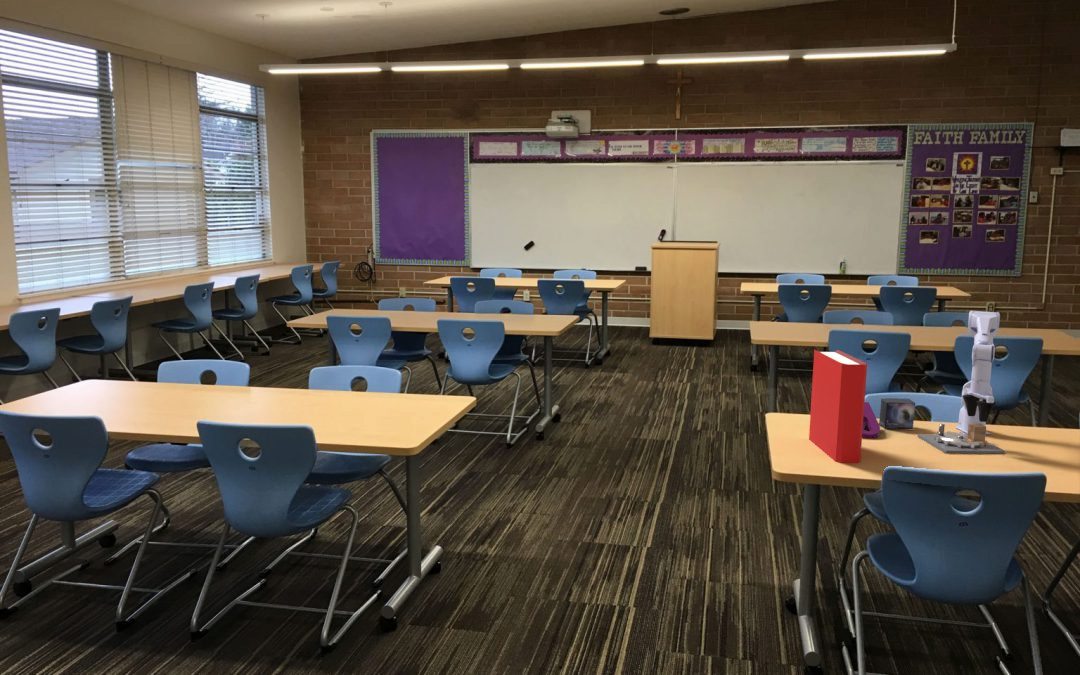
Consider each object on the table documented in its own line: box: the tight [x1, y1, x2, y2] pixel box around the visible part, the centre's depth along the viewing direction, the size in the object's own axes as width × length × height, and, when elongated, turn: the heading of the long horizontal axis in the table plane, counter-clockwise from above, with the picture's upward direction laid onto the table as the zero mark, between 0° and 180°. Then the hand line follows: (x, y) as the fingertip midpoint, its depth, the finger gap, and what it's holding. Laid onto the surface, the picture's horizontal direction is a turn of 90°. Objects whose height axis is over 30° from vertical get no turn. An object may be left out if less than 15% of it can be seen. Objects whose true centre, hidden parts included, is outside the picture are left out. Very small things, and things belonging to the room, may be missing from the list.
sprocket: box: [934, 423, 988, 448], centre depth 292 cm, size 16×16×5 cm
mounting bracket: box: [862, 401, 881, 439], centre depth 309 cm, size 9×8×18 cm
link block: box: [966, 424, 987, 441], centre depth 290 cm, size 4×4×5 cm
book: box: [808, 349, 868, 464], centre depth 282 cm, size 27×8×32 cm, turn 1°
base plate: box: [917, 433, 1006, 455], centre depth 292 cm, size 20×20×6 cm
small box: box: [878, 397, 916, 430], centre depth 314 cm, size 11×6×10 cm, turn 88°
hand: (977, 418), depth 289 cm, fingers open, 7 cm apart
